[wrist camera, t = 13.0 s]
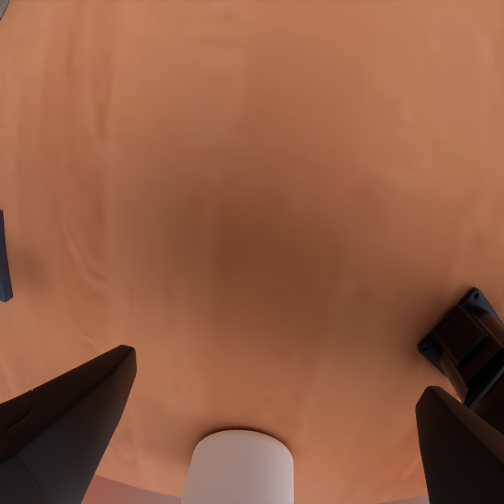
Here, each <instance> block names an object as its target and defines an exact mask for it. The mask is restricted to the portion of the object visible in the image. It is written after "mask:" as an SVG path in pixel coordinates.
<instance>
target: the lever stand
mask: <svg viewBox="0 0 504 504" xmlns="http://www.w3.org/2000/svg"><path fill="white" fill-rule="evenodd" d="M12 297H13V295H12V290H11V284H10V278H9V271H8V264H7V256H6V248H5V238H4V226H3V212H2V211H0V301H3V302H7V301H8V300H10V299H11V298H12Z"/></svg>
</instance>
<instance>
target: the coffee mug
mask: <svg viewBox="0 0 504 504" xmlns="http://www.w3.org/2000/svg"><path fill="white" fill-rule="evenodd" d="M8 2H9V0H0V18H1V16H2V15H3V13H4V11H5V9H6V7H7V5H8Z"/></svg>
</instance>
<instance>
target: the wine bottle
mask: <svg viewBox="0 0 504 504" xmlns="http://www.w3.org/2000/svg"><path fill="white" fill-rule="evenodd" d="M180 504H294V482H293V459H292V456H291V453H290V452H289V450H288V449H287V447H286V446H285V445H284V444H282V443H281V442H280V441H278V440H277V439H275V438H273V437H271V436H268V435H265V434H262V433H259V432H254V431H247V430H227V431H221V432H217V433H214V434H211V435H209V436H207V437H205V438H204V439H203V440H201V441H200V442H199V443H198V445H197V446H196V448H195V449H194V452H193V455H192V459H191V463H190V467H189V471H188V475H187V479H186V483H185V487H184V491H183V495H182V499H181V503H180Z"/></svg>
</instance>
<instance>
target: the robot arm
mask: <svg viewBox="0 0 504 504" xmlns="http://www.w3.org/2000/svg"><path fill="white" fill-rule="evenodd" d="M475 294H476V295H475ZM474 295H475V296H474ZM424 346H426V347H425V348H423V347H424ZM418 350H419V352H420V353H421V354H422V355H423V356H424V357H425V358H427V359H428V360H429V361H430V362H431V363H432V364H433V365H434V366H436V367H437V368H438V369H439V370H440V371H441V372H442V373H443V374H444V375H446V376H447V377H448V379H449V380H450V382H451V384H452V386H453V387H454V389H455V391H456V393H457V394H458V396H459V398H460V400H461V401H462V403H463V404H462V403H460V402H459V401H458V400H457V399H455V398H454V397H453V396H451V395H450V394H449V393H447V392H446V391H445V390H443V389H442V388H441V387H439V386H428V387H427V388H426V389H425V390H424V392H423V394H422V396H421V397H420V399H419V401H418V402H417V404H416V409H415V412H416V420H417V428H418V437H419V446H420V452H421V457H422V462H423V468H424V473H425V478H426V484H427V490H428V496H429V502H430V504H504V324H503V323H502V321H501V320H500V318H499V317H498V315H497V314H496V313H495V311H494V310H493V308H492V307H491V305H490V304H489V302H488V301H487V300H486V298H485V297H484V295H483V294H482V293H481V291H480V290H478V289H477V288H473V289H472V290H471V291H470V292H469V293H468V294H467V295H466V296H465V297H464V299H463V300H462V301H461V302H460V303H459V304H458V305H457V306H456V307H455V308H454V309H453V310H452V311H451V312H450V313H449V314H448V316H447V317H446V318H445V319H444V320H443V321H442V322H441V323H440V324H439V325H438V326H437V327H436V328H435V329H434V330H433V331H432V332H431V333H430V334H428V335H427V336H426V337H425V338H424V339H423V340H422V341H421V342H420V343H419V344H418ZM136 372H137V366H136V352H135V349H134V348H133V347H130V346H126V345H119V346H117V347H116V348H114V349H112V350H110V351H108V352H106V353H104V354H102V355H100V356H98V357H96V358H94V359H92V360H90V361H88V362H86V363H84V364H82V365H80V366H78V367H76V368H74V369H72V370H70V371H68V372H66V373H64V374H62V375H60V376H58V377H56V378H54V379H52V380H50V381H48V382H46V383H44V384H42V385H40V386H38V387H36V388H34V389H33V391H32V390H30V391H28V392H26V393H24V394H22V395H20V396H18V397H15V398H13V399H11V400H9V401H6V402H4V403H1V404H0V504H81V502H82V500H83V498H84V495H85V493H86V491H87V489H88V486H89V484H90V482H91V480H92V478H93V476H94V473H95V471H96V469H97V467H98V465H99V463H100V461H101V458H102V456H103V454H104V452H105V450H106V448H107V446H108V444H109V442H110V439H111V437H112V435H113V433H114V431H115V429H116V427H117V425H118V423H119V421H120V419H121V416H122V414H123V411H124V408H125V405H126V402H127V399H128V396H129V393H130V390H131V388H132V385H133V382H134V379H135V376H136Z"/></svg>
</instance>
